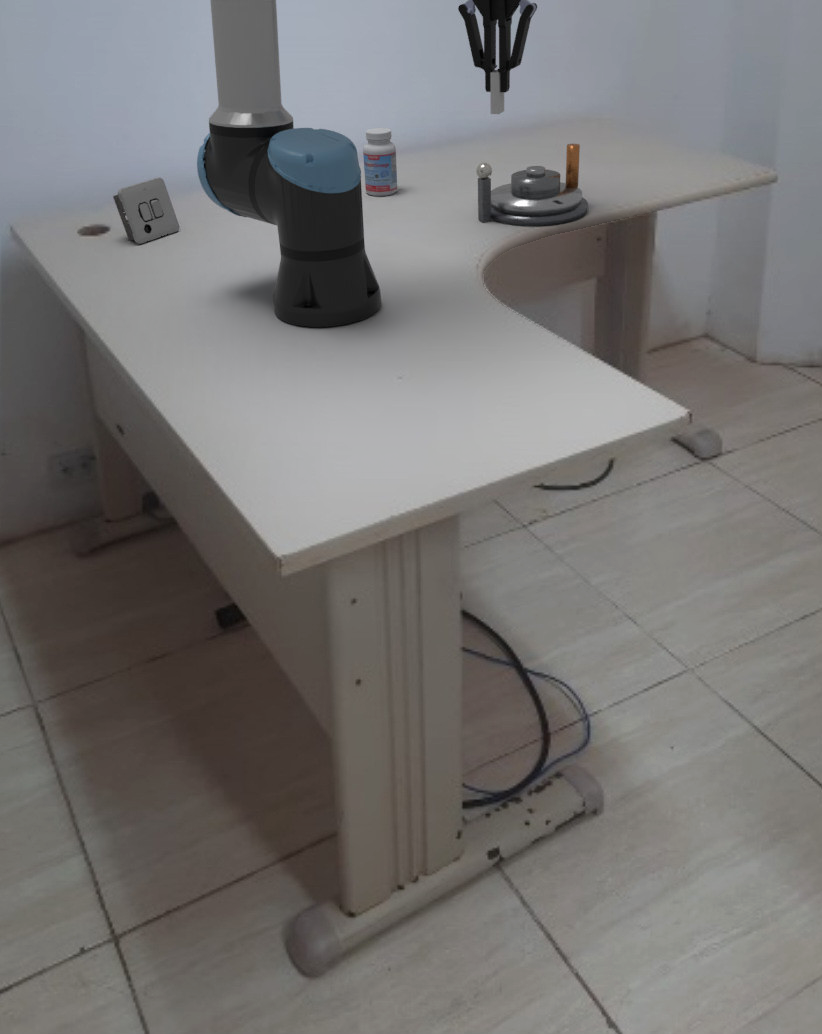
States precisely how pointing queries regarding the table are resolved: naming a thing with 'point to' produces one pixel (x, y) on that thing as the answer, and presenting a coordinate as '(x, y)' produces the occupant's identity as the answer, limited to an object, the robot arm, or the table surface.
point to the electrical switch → (146, 210)
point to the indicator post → (484, 192)
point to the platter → (558, 204)
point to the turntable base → (540, 217)
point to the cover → (535, 183)
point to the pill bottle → (380, 163)
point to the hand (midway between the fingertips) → (497, 112)
